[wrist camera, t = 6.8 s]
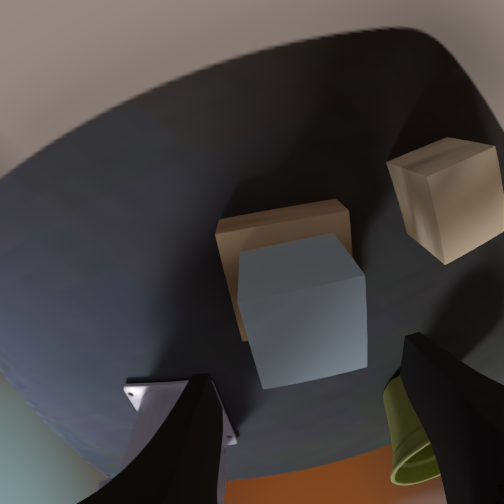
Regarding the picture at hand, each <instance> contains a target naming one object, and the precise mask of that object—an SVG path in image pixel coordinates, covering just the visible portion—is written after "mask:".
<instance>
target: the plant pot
mask: <svg viewBox="0 0 504 504" xmlns="http://www.w3.org/2000/svg"><path fill="white" fill-rule="evenodd" d="M383 399H384V404H385V409H386V414H387V419H388V424H389V429H390V434H391V440H392V446H393V453H394V456H393V470H392V472H391V481H392V482H393V483H394V484H396V485H411V484H416V483H420V482H423V481H427V480H429V479H432V478H435V477H437V476H439V475H441V474H440V471H439V467H438V464H437V460H436V457H435V454H434V451H433V448H432V446H431V443H430V441H429V439H428V437H427V435H426V433H425V430H424V428H423V426H422V424H421V422H420V420H419V418H418V416H417V415H416V413H415V411H414V409H413V407H412V405H411V403H410V401H409V399H408V397H407V394H406V391H405V388H404V386H403V383H402V380H401V377H400V375H399V376H398V377H396V378H394V379H392V380H391V381H390V382H389V383H388V385H387V386H386V388H385V390H384V394H383Z"/></svg>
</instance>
